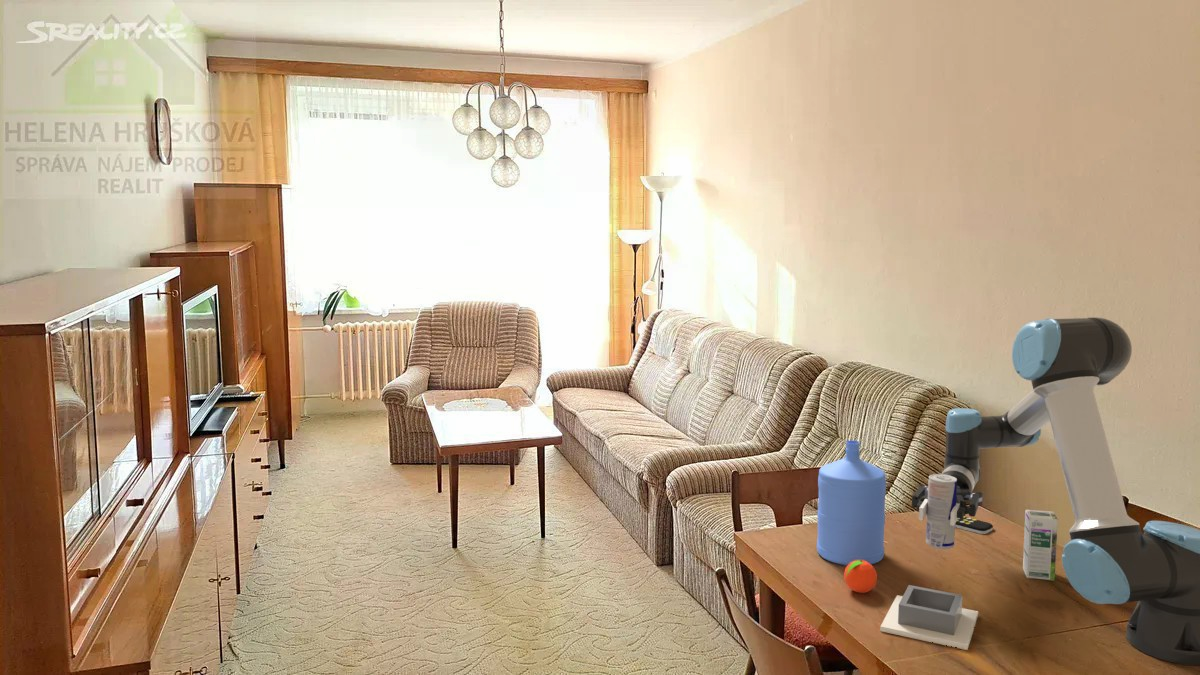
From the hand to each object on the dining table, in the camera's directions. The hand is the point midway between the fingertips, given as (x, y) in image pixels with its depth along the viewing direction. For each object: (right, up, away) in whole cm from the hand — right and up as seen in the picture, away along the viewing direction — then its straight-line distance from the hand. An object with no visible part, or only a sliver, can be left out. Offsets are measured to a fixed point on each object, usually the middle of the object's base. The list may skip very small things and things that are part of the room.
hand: (936, 516), depth 177 cm
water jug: (-9, -16, +32) cm, 37 cm away
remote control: (+27, -13, +50) cm, 58 cm away
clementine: (-13, -19, +11) cm, 25 cm away
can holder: (-3, -21, -4) cm, 21 cm away
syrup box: (+30, -17, +18) cm, 39 cm away
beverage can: (+3, -7, +6) cm, 10 cm away
